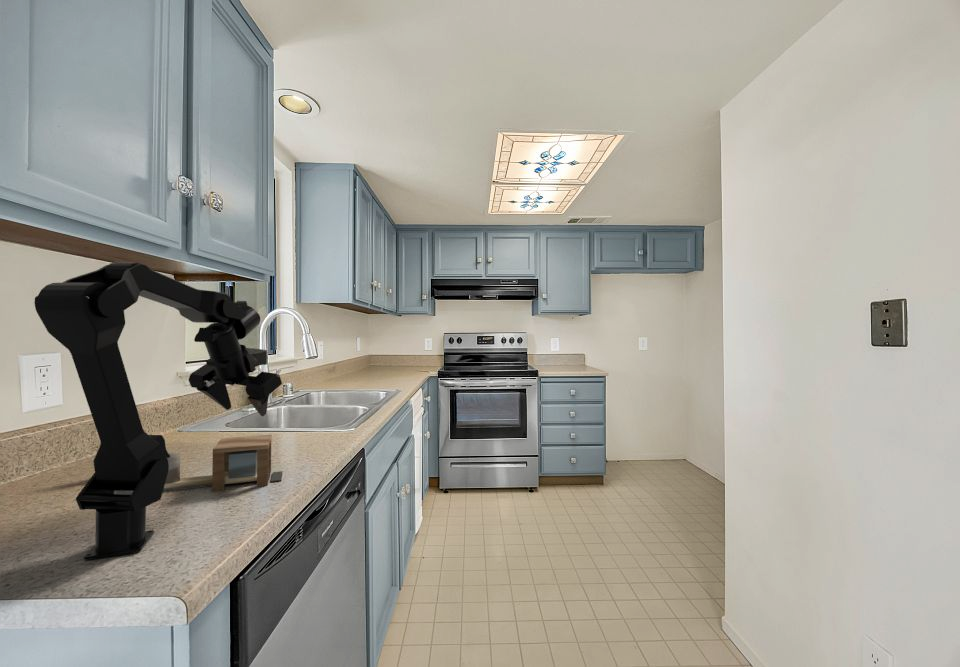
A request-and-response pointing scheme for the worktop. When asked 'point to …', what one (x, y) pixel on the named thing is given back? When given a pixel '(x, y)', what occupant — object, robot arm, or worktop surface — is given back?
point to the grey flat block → (276, 476)
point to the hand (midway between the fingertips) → (246, 411)
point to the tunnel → (241, 444)
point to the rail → (180, 487)
